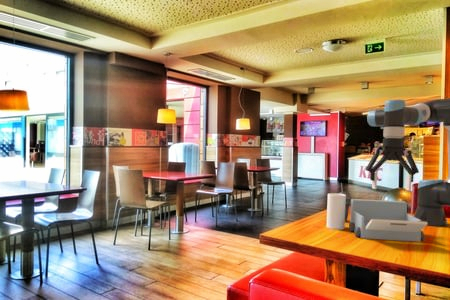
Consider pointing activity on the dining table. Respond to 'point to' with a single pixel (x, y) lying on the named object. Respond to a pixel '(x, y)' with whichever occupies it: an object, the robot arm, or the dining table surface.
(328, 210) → the cup
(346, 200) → the beverage cup
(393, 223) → the tailgate
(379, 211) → the truck bed
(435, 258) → the dining table surface
